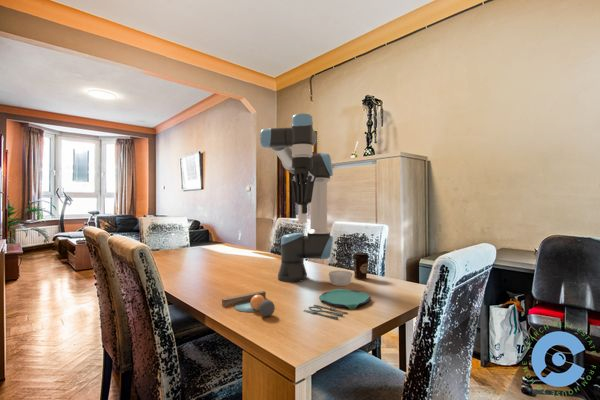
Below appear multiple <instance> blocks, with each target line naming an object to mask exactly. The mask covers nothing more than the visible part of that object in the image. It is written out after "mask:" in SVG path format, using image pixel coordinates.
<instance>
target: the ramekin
mask: <svg viewBox="0 0 600 400" xmlns="http://www.w3.org/2000/svg"><path fill="white" fill-rule="evenodd" d="M328 276H329V282H330V284H331V285H332V286H338V287H347V286H349V285H350V284H351V282H352V276H353V273H352V272H351V271H348V270H332V271H329V272H328Z"/></svg>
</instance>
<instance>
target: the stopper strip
mask: <svg viewBox="0 0 600 400" xmlns="http://www.w3.org/2000/svg"><path fill="white" fill-rule="evenodd" d="M255 295H262V296H263V297H264V299H266V297H267V296H266V291H264V290H260V291H255V292H250V293H246V294H241V295H235V296H229V297H224V298H221V306H222V307H224V308H225V307H229V306H235V305H236V304H237V303H242V302H247V301H251V299H252V297H253V296H255Z"/></svg>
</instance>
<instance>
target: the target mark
mask: <svg viewBox="0 0 600 400" xmlns="http://www.w3.org/2000/svg"><path fill="white" fill-rule="evenodd" d="M234 309H235V310H237V311H238V312H242V313H256V312H259V310H254V309H253V308H252V307H251V304H250V301H247V302H242V303H237V304H235V305H234Z"/></svg>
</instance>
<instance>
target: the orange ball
mask: <svg viewBox="0 0 600 400" xmlns="http://www.w3.org/2000/svg"><path fill="white" fill-rule="evenodd" d="M264 300H266V298H264V297H263V296H262V295H255V296H253V297H252V299H251V301H250V304H251V307H252V308H253V309H254V310H259V305H260V303H261V302H262V301H264Z"/></svg>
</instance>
